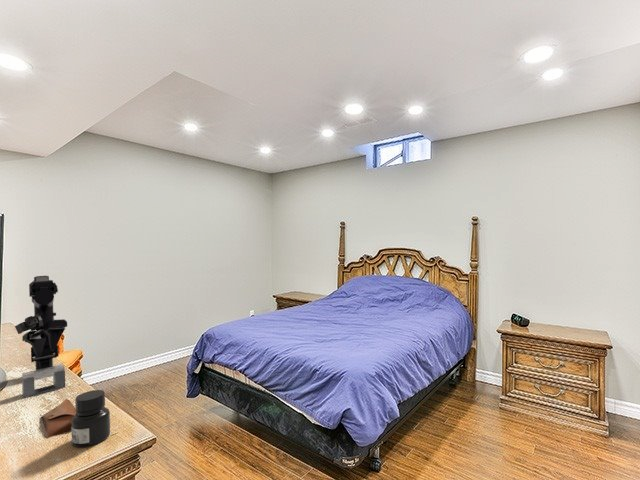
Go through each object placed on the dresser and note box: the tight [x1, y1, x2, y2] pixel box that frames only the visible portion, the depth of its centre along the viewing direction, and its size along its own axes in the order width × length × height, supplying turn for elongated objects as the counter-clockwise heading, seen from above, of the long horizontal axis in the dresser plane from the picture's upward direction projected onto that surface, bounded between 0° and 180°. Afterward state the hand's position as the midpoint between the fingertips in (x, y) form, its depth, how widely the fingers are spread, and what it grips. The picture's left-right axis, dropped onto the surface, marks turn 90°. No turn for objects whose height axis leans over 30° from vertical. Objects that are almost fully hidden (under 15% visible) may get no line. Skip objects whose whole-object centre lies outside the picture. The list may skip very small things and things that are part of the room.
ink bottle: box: [70, 389, 111, 448], centre depth 96 cm, size 10×9×12 cm
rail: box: [21, 363, 65, 381], centre depth 129 cm, size 3×12×3 cm, turn 135°
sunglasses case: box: [40, 398, 76, 439], centre depth 106 cm, size 18×7×7 cm, turn 44°
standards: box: [21, 370, 66, 399], centre depth 129 cm, size 5×12×6 cm, turn 135°
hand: (45, 353), depth 129 cm, fingers open, 9 cm apart
